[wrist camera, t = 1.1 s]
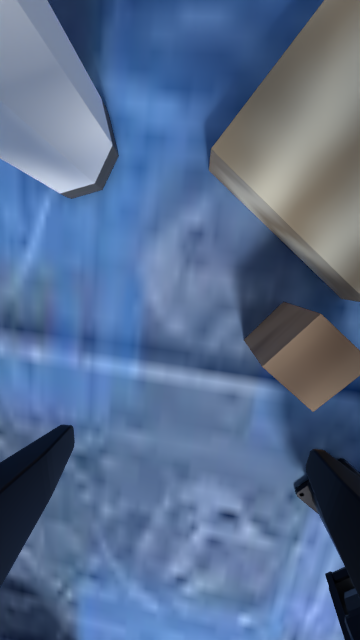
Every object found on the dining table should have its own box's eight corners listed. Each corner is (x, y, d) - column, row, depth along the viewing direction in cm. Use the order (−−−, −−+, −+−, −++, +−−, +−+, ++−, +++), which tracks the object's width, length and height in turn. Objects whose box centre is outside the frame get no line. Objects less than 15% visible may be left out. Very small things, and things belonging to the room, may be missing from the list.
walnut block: (321, 337, 19) (374, 364, 13) (280, 372, 20) (313, 411, 15) (283, 301, 19) (321, 313, 13) (243, 339, 20) (262, 366, 14)
